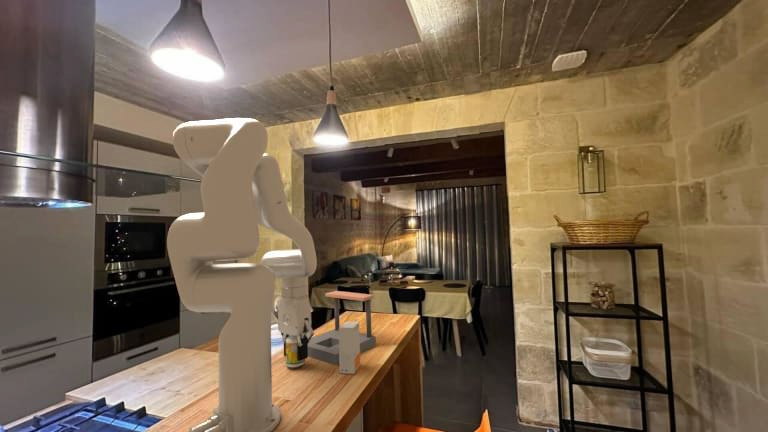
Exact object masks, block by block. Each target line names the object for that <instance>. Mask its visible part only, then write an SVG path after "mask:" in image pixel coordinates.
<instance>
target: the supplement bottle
mask: <svg viewBox="0 0 768 432" xmlns="http://www.w3.org/2000/svg"><path fill="white" fill-rule="evenodd" d="M302 333H303V332H302ZM301 338H302V339H303V338H304V335H302V336H301ZM297 346H299V344H298V339H297V336H292V335H289V337H287V339H286V357H285V365H286V367H289V368H298V367H300V366H303V365H305V363H306V359H303V360H301V361H298V360H297Z"/></svg>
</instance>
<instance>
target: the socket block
mask: <svg viewBox="0 0 768 432" xmlns="http://www.w3.org/2000/svg"><path fill="white" fill-rule="evenodd" d="M324 295H325V296H324V297H328V298H334V299H333V301H334V328H333V329H331V330H328V331H326V332H324V333H319V334H318V335H315V336H312V337H311V339H310V341H309V343H308V357H309V358H312V359H315V360H318V361H322V362H324V363H328V364H331V365H333V366H339V327H340V326H341V325H340V299H345V300H350V301H357V302H358V301H359V302H365V321H366V322H365V324H366V325H365V326H366V333H363V332H359V336H360V354H362V353H364V352H366V351H369V350H370V349H372V348H373V347H376V346H377V336H376V335H373V334H372V313H371V312H372V311H371V309H372V308H371V306H372V305H371V299H373V300H374V299H375V294H370V293H369V294H367V293H360V292H351V291H339V290H334V291H330V292H326V293H324ZM308 357H307V358H308Z"/></svg>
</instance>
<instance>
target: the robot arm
mask: <svg viewBox="0 0 768 432" xmlns="http://www.w3.org/2000/svg"><path fill="white" fill-rule="evenodd" d="M268 142H269V136H268V131H267V128H266V126H265V124H264V123H262V122H260V121H259V120H257V119H254V118H248V117H247V118H246V117H245V118H243V117H242V118H241V117H235V118H220V119H213V120H212V119H211V120H210V119H209V120H208V119H207V120H198V121H197V120H195V121H187V122H185V123H181V124H180V125H178V126H177V127H176V129H174V131H173V134H172V145H173V148H174V150H175V152H176V154H177V155H178V157H179V158H180V160H181V161H182V162H183V163H184V164H186V165H187V166H188V167H189V168H190V169H192V170H193V171H194V172H195V173H197V174H198V175H199V176H201V177H202V179H201V182H200V196H201V200H202V201H201V202H202V207H203V212H191V213H186V214H182V215H180V216H179V217H177V218H176V219H175V220H173V222H172V223H171V225H170V227H169V228H168V229H169V230H168V232H167V238H166V248H167V253H168V254H167V255H168V258H169V262H170V266H171V270H172V273H173V277H174V280H175V285H176V288H177V292H178V295H179V298H180V301H181V302H182V304H183V306H184V307H186V309H187V310H189V311H191V312H194V313H222V312H224V313H230V317H229V318H228V319H227V321H226V323H225V324H224V326H223V327H222V328H221V331H220V333H219V335H218V406H217V407H216V408H213V409H212V415H210V416H209V417H208V419H206V420H205V421H202V422H200V423H197V424H195V425H194V426H191V427H190V428H189V430H188V431H189V432H272V431H273V430H274V429H276V427H277V426H278V424H279V423H280V420H281V409H280V408H279V406H278V405H276V404H275V403H273V398H272V397H273V391H272V388H273V384H272V383H273V382H272V375H273V374H272V371H273V370H272V311H273V304H274V296H275V291H276V279H280V280H281V281H280V282H281V283H280V284H281V285H280V286H281V288H280V289H281V297H280V299H279V303H278V313H277V315H278V316H277V329H278V332H280V335H281V337H282V342H283V357H285V358H286V339H287V337H289V335H292V336H297V339H298V344H299V346H297V360H298V361H301V360H303V359H305V360H306V359H307V358H308V343H309V341H310V339H311V338H312V337H314V335H315V331H314V330H313V328H312V312H311V304H310V297H309V277H311V276H312V275H313V274H315V272H316V270H317V266H318V264H317V263H318V260H317V254H316V249H315V242H314V240H313V236H312V234H311V232H310V231H309V230H308V228H307V227H306V226H305V225H304V224H303V223H302V221H300V220H299V219H298V218H297V217H295V216H294V215H293V214H292V213H291V212H290V209H289V205H288V200H287V195H286V191H285V187H284V184H283V178H282V174H281V170H280V165H279V162H278V161H277V159H276V157H274V156H273V155H272V154H269V153H266V151H267V148H268ZM259 227H263V228H264V229H268V230H270V231H273V232H275V233H278V234H281V235H283V236H285V237H287V238H288V239H290V240H291V241H293V243H295V245H296V246H297V247H298V248H296V249H295V248H294V249H293V248H291V249H290V248H289V249H278V250H277V249H274V250H269V251H268V252H266V253H265V254H264V255H263V256H262V257H261V259H260V262H259V263H258V262H235V263H234V262H230V263H214V262H223V261H224V262H225V261H227V262H228V261H238V260H246V259H248V258H251V257H253V256H255V254H256V253H257V252H258V250H259V248H260V241H261V240H260V232H259ZM302 332H303V333H302ZM302 335H303V336H304V338H303V339H302V338H301V336H302Z"/></svg>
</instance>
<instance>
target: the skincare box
mask: <svg viewBox="0 0 768 432" xmlns="http://www.w3.org/2000/svg"><path fill="white" fill-rule="evenodd" d="M359 333H360V322H359V321H345V322H344V323H342V324H341V325H340V327H339V364H338V366H339V373H340V374H348V375H349V374H350V375H354V374H355V373H356V371H357V370H358V369H359V367H360V366H361V353H360V336H359Z"/></svg>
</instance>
